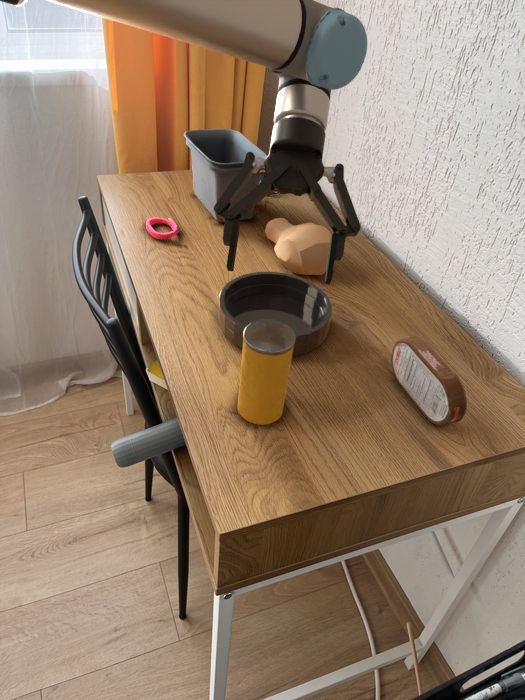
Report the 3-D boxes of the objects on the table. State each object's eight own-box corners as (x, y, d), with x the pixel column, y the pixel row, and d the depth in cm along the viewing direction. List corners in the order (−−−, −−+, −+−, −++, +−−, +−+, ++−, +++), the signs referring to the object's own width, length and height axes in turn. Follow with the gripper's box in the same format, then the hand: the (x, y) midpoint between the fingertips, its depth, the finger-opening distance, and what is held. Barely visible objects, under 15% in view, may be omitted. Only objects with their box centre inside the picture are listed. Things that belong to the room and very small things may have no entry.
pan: (208, 350, 82) (209, 327, 79) (227, 286, 96) (228, 265, 94) (326, 367, 82) (331, 344, 79) (327, 300, 96) (332, 279, 93)
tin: (456, 434, 73) (478, 391, 68) (438, 439, 72) (458, 396, 67) (399, 365, 84) (414, 323, 78) (382, 368, 83) (396, 326, 77)
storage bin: (179, 190, 127) (179, 129, 118) (238, 184, 133) (242, 126, 124) (210, 230, 112) (213, 164, 103) (275, 222, 118) (283, 159, 109)
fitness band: (182, 237, 109) (182, 230, 108) (155, 241, 107) (155, 235, 106) (168, 220, 114) (168, 214, 113) (142, 224, 112) (142, 217, 111)
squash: (298, 290, 98) (294, 247, 93) (251, 251, 113) (246, 212, 107) (347, 272, 101) (346, 228, 96) (295, 236, 116) (291, 197, 111)
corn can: (233, 421, 71) (240, 347, 63) (240, 388, 76) (247, 316, 68) (281, 428, 71) (293, 355, 63) (284, 394, 76) (296, 323, 68)
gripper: (381, 152, 77) (364, 293, 76) (214, 131, 78) (193, 270, 76) (393, 126, 70) (374, 281, 68) (209, 102, 71) (184, 255, 69)
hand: (278, 275), depth 72 cm, fingers open, 13 cm apart
